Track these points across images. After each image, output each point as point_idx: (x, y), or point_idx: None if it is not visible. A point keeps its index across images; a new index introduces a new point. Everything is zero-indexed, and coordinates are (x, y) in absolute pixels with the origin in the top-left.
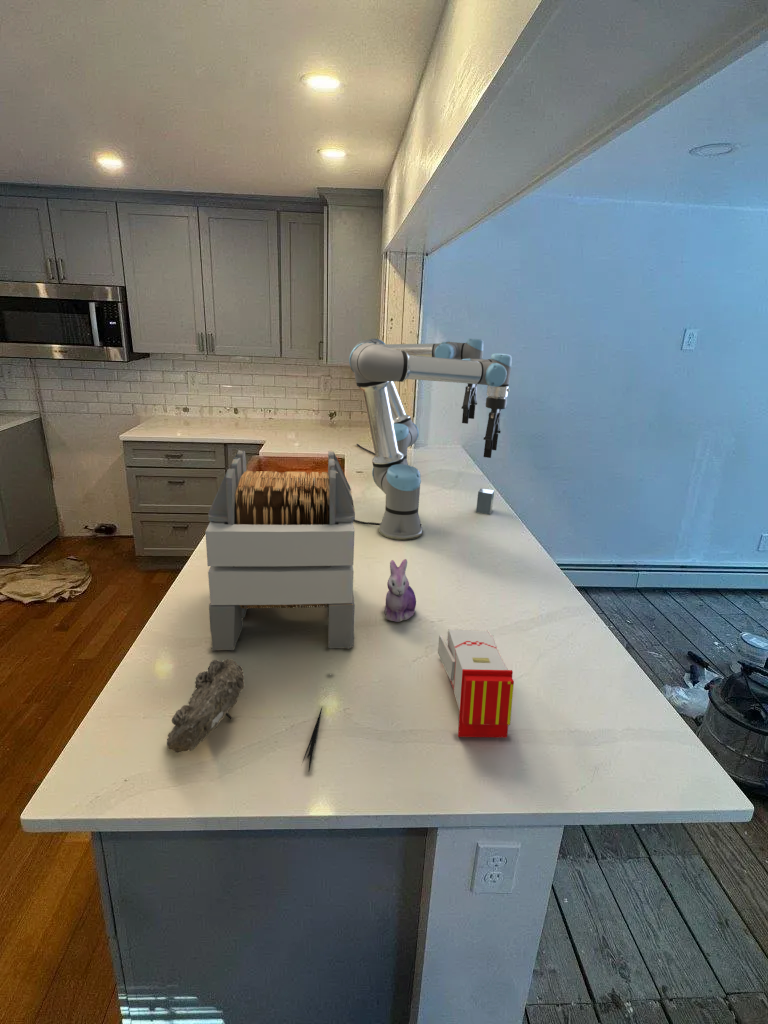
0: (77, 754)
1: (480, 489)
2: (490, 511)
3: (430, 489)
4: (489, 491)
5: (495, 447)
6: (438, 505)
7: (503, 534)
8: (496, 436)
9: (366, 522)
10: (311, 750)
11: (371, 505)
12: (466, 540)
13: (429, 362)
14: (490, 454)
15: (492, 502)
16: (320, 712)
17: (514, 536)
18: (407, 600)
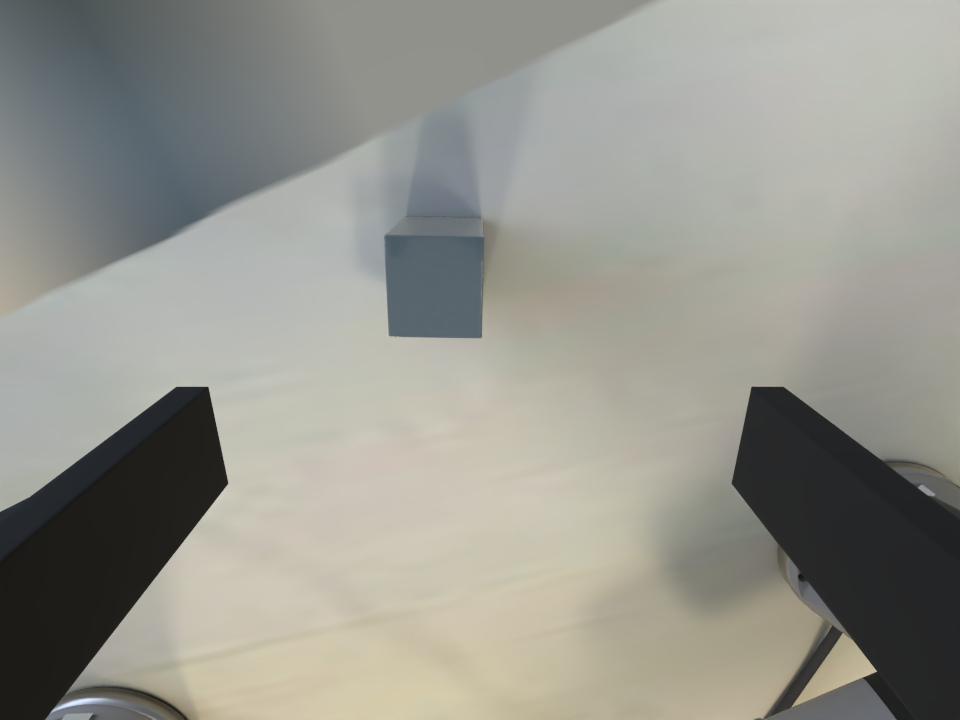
0: None
1: (417, 333)
2: (466, 219)
3: (234, 567)
4: (433, 265)
5: (186, 423)
6: (458, 485)
7: (793, 83)
8: (25, 577)
9: (823, 660)
10: None
11: (583, 693)
12: (920, 266)
13: None
14: (813, 421)
15: (418, 223)
16: None
17: (813, 7)
18: None
